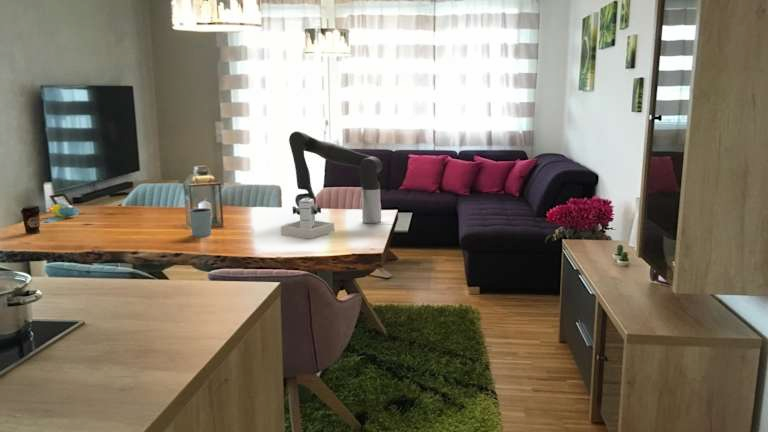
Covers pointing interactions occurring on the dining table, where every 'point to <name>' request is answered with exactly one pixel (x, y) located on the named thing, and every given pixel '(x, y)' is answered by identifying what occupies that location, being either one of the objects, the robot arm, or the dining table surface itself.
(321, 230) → the tray
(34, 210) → the coffee cup
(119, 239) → the dining table surface
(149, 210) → the dining table surface
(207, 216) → the grey tapered cup
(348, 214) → the dining table surface
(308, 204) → the syrup box
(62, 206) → the blue yellow toy
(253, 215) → the dining table surface
